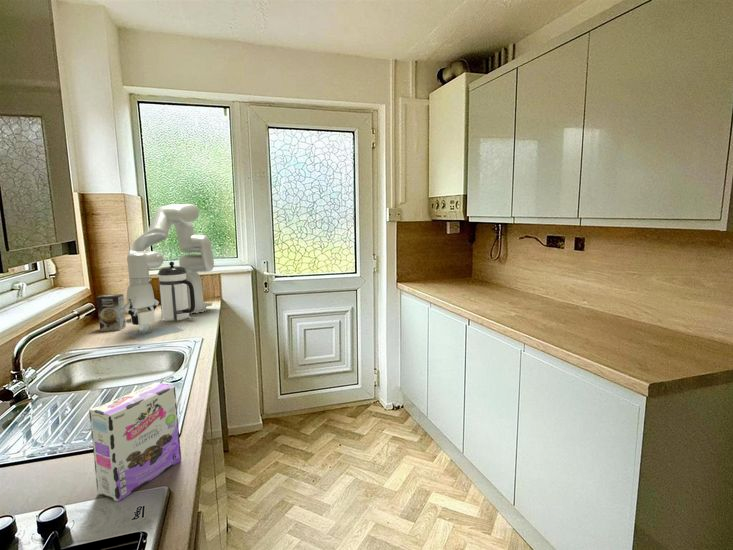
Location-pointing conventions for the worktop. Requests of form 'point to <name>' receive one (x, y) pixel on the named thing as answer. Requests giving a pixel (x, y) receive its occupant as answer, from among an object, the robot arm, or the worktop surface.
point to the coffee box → (111, 312)
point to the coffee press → (175, 293)
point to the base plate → (155, 332)
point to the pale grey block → (144, 328)
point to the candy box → (134, 439)
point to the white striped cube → (145, 316)
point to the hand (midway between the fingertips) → (143, 322)
